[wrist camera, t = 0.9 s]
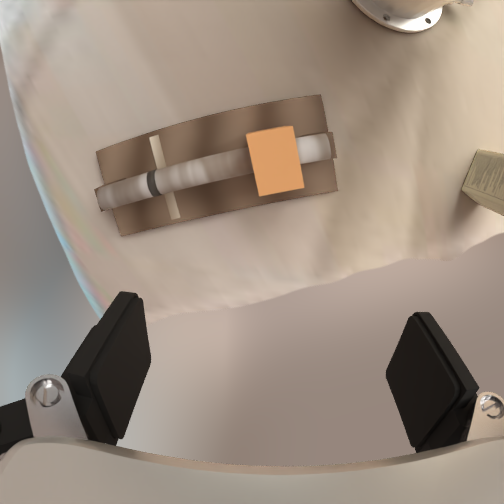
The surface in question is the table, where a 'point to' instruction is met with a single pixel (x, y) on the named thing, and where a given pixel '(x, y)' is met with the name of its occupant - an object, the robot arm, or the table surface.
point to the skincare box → (486, 180)
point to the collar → (275, 160)
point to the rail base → (210, 145)
